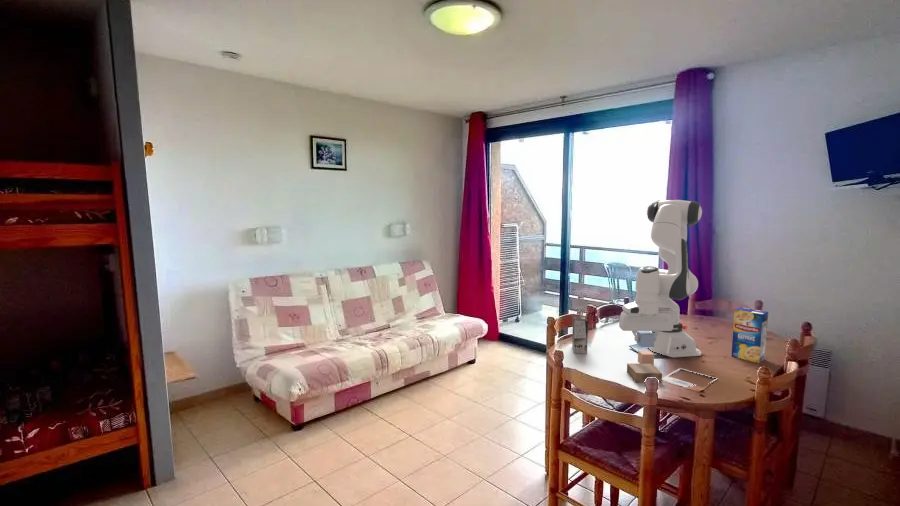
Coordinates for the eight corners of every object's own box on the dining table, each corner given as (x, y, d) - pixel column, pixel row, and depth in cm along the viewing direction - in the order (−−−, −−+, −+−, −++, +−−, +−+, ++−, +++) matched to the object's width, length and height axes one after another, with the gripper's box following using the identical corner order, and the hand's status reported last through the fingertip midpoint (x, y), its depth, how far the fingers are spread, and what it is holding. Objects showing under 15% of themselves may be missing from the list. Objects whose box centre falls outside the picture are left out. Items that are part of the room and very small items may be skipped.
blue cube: (648, 343, 175) (649, 331, 175) (654, 347, 170) (654, 334, 170) (636, 342, 175) (637, 331, 175) (641, 347, 170) (641, 334, 170)
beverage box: (759, 363, 188) (763, 314, 185) (731, 356, 197) (734, 309, 194) (764, 359, 192) (768, 311, 189) (737, 353, 201) (740, 307, 198)
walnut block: (651, 372, 179) (651, 363, 179) (661, 382, 169) (662, 373, 169) (626, 372, 180) (627, 363, 179) (635, 382, 170) (636, 373, 169)
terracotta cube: (649, 361, 192) (649, 350, 192) (653, 365, 187) (654, 354, 187) (637, 361, 193) (638, 350, 192) (642, 365, 188) (642, 354, 187)
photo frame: (660, 378, 172) (679, 367, 183) (660, 381, 172) (679, 370, 183) (699, 391, 160) (718, 378, 172) (699, 393, 161) (717, 380, 172)
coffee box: (587, 353, 202) (588, 320, 200) (573, 353, 204) (574, 320, 202) (585, 347, 211) (586, 315, 209) (571, 346, 212) (572, 315, 210)
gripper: (669, 305, 174) (668, 338, 175) (618, 305, 175) (617, 338, 176) (677, 309, 167) (675, 343, 169) (623, 309, 168) (622, 343, 170)
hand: (645, 341), depth 173 cm, fingers closed on blue cube, 5 cm apart
